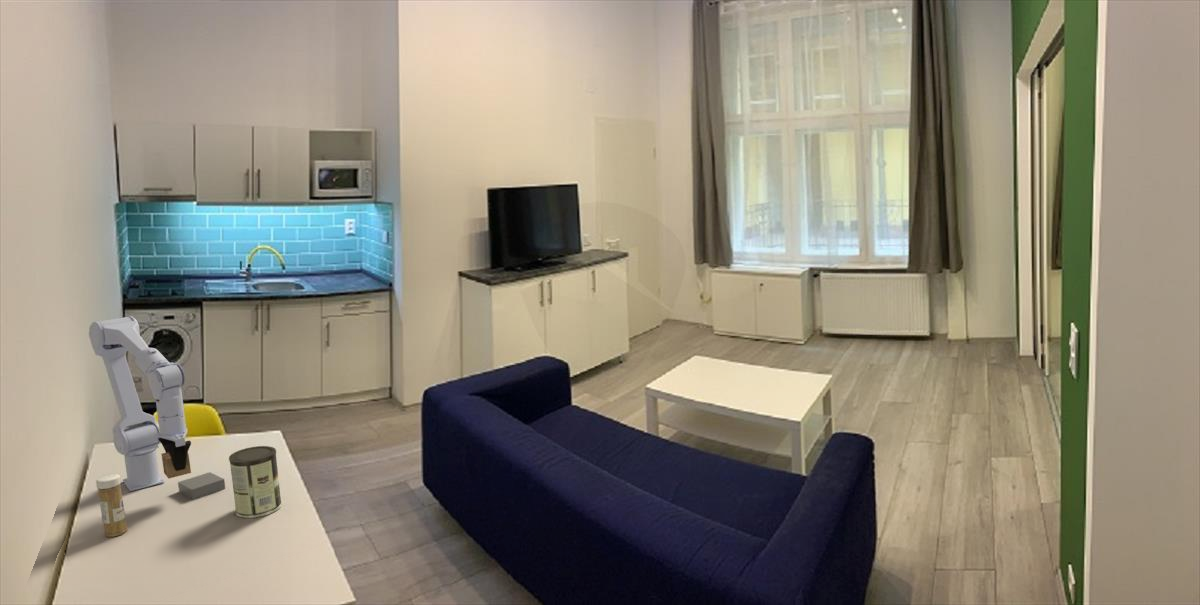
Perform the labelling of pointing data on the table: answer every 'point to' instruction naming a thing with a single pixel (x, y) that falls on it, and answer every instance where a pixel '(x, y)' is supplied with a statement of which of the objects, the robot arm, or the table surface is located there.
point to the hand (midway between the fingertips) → (177, 466)
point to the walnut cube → (169, 467)
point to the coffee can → (255, 481)
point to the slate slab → (201, 485)
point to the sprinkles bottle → (111, 505)
